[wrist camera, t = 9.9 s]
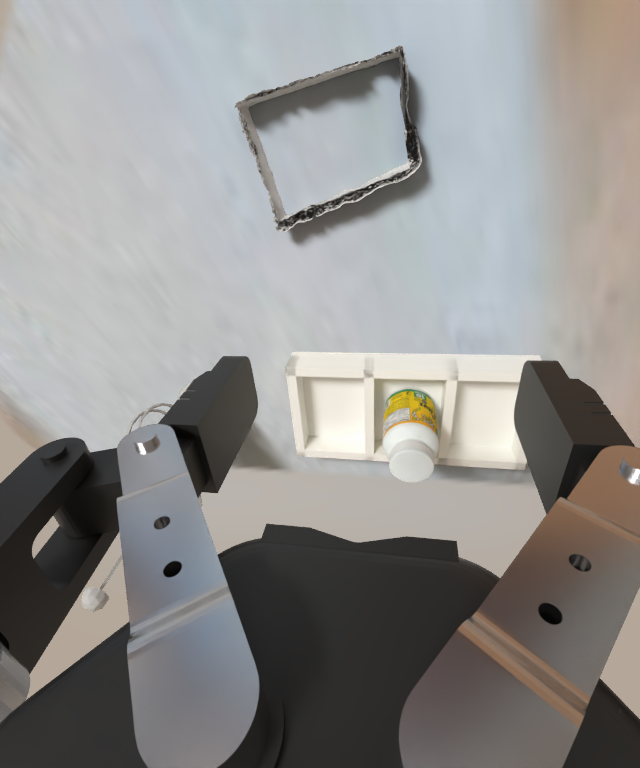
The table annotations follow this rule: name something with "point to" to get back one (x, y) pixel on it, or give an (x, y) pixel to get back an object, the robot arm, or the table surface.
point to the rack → (396, 370)
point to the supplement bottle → (410, 434)
